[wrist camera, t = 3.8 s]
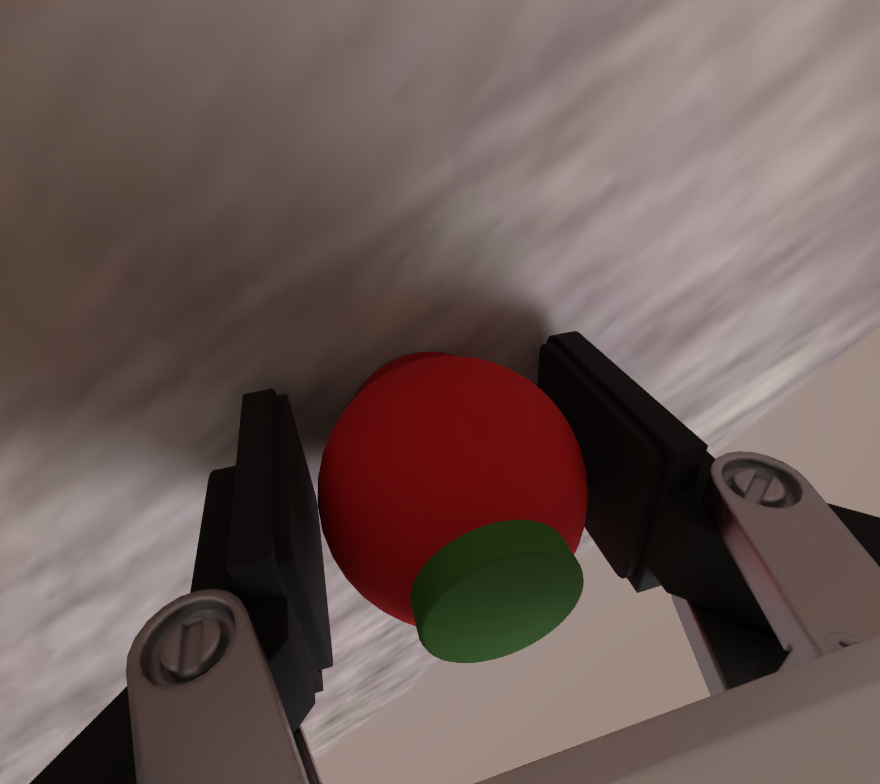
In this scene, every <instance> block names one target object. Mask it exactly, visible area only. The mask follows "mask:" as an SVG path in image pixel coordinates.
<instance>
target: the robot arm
mask: <svg viewBox="0 0 880 784" xmlns="http://www.w3.org/2000/svg"><path fill="white" fill-rule="evenodd" d="M537 387H538V388H540V389H541V390H542V391H543V392H544V393H545V394H546V395H547V396H548V397H549V398H550V399H551V400H552V401H553V402H554V403H555V405H556V406H557V407H558V408H559V410H560V411H561V412H562V414H563V415H564V417H565V418H566V420H567V421H568V423H569V425H570V427H571V429H572V431H573V432H574V435H575V437H576V439H577V441H578V444H579V446H580V449H581V453H582V456H583V460H584V464H585V468H586V475H587V487H588V502H587V513H586V521H585V525H584V527H585V528H586V530H587V531H588V533H589V534H590V536H591V537H592V539H593V540H594V542H595V543H596V545H597V546H598V548H599V549H600V551H601V552H602V554H603V555H604V557H605V558H606V560H607V561H608V562H609V564H610V565H611V567H612V568H613V570H614V571H615V572H616V574H617V575H618V576H619V577H621V578H626V577H627V578H628V580H629V581H630V583H631V584H632V586H633V587H634V589H635V590H636V592H637V593H638V592H641V591H645V590H648V589H651V588H654V587H658V586H661V585H662V587H663V588H664V589H665V590H666V592H667V593H670V594H671V595H672V599H673V603H674V605H675V608H676V610H677V613H678V615H679V618H680V620H681V623H682V625H683V628H684V630H685V632H686V635H687V637H688V640H689V642H690V645H691V647H692V650H693V653H694V655H695V658H696V660H697V662H698V665H699V668H700V670H701V673H702V675H703V677H704V680H705V683H706V685H707V688H708V690H709V693H710V695H711V696H710V697H707V698H705V699H702V700H699V701H696V702H694V703H691V704H688V705H685V706H683V707H680V708H677V709H675V710H672V711H670V712H666V713H664V714H661V715H658V716H656V717H653V718H650V719H647V720H645V721H642V722H640V723H637V724H634V725H631V726H629V727H626V728H623V729H621V730H618V731H615V732H612V733H610V734H607V735H604V736H601V737H599V738H596V739H593V740H590V741H588V742H585V743H582V744H580V745H577V746H574V747H572V748H569V749H566V750H563V751H561V752H558V753H555V754H553V755H550V756H547V757H544V758H542V759H539V760H536V761H534V762H531V763H528V764H526V765H523V766H520V767H518V768H515V769H512V770H510V771H507V772H504V773H502V774H499V775H496V776H494V777H491V778H488V779H486V780H483V781H480V782H478V783H475V784H880V518H879V517H875V516H872V515H868V514H865V513H861V512H857V511H854V510H850V509H846V508H842V507H839V506H835V505H832V504H828V503H826V502H825V501H824V500H823V498H822V497H821V496H820V495H819V494H818V492H817V491H816V490H815V489H814V488H813V486H812V485H811V484H810V483H809V482H808V480H807V479H806V478H805V477H803V476H802V475H801V474H800V473H799V472H798V471H797V470H795V469H794V468H792V467H791V466H789V465H787V464H786V463H784V462H782V461H779V460H777V459H775V458H772V457H769V456H766V455H762V454H758V453H754V452H740V451H739V452H731V453H726V454H724V455H722V456H720V457H718V458H717V459H715V458H714V457H713V456H711V455H710V454H709V453H708V452H707V451H706V450H707V447H708V445H707V444H706V443H704V442H703V441H702V440H701V439H700V438H699V437H698V436H696V435H695V434H694V433H693V432H692V431H691V430H690V429H688V428H687V427H686V426H685V425H684V424H683V423H682V422H680V421H679V420H678V419H677V418H676V417H675V416H674V415H672V414H671V413H670V412H669V411H668V410H667V409H666V408H664V407H663V406H662V405H661V404H660V403H659V402H658V401H656V400H655V399H654V398H653V397H652V396H651V395H650V394H648V393H647V392H646V391H645V390H644V389H643V388H642V387H640V386H639V385H638V384H637V383H636V382H635V381H634V380H632V379H631V378H630V377H629V376H628V375H627V374H626V373H624V372H623V371H622V370H621V369H620V368H619V367H618V366H616V365H615V364H614V363H613V362H612V361H611V360H610V359H608V358H607V357H606V356H605V355H604V354H603V353H602V352H600V351H599V350H598V349H597V348H596V347H595V346H594V345H592V344H591V343H590V342H589V341H588V340H587V339H586V338H584V337H583V336H582V335H581V334H580V333H578V332H577V331H573V332H567V333H562V334H557V335H552V336H550V337H548V339H547V342H546V344H542V345H541V347H540V351H539V366H538V381H537ZM332 666H333V657H332V646H331V636H330V626H329V616H328V605H327V595H326V585H325V575H324V565H323V555H322V544H321V534H320V524H319V514H318V506H317V500H316V495H315V491H314V488H313V484H312V481H311V477H310V474H309V470H308V466H307V463H306V459H305V456H304V452H303V448H302V445H301V441H300V438H299V434H298V431H297V427H296V423H295V420H294V416H293V413H292V409H291V406H290V402H289V399H288V396H287V394H281V395H276V392H275V390H274V389H268V390H262V391H257V392H252V393H247V394H243V398H242V408H241V419H240V429H239V439H238V450H237V460H236V466H231V467H226V468H222V469H217V470H213V471H212V472H211V473H210V476H209V479H208V485H207V492H206V498H205V504H204V510H203V517H202V523H201V529H200V535H199V542H198V548H197V554H196V560H195V567H194V573H193V579H192V585H191V592H190V593H189V594H186V595H184V596H181V597H179V598H177V599H176V600H174V601H172V602H171V603H169V604H167V605H166V606H164V607H163V608H161V609H160V610H159V611H158V612H157V613H156V614H155V615H154V616H153V617H152V618H150V619H149V620H148V621H147V622H146V624H145V625H144V626H143V628H142V629H141V630H140V632H139V633H138V635H137V636H136V637H135V639H134V641H133V644H132V646H131V649H130V651H129V653H128V656H127V666H126V679H127V687H126V688H125V689H124V690H123V691H122V692H121V693H120V694H119V695H118V696H117V697H116V698H115V699H114V700H113V701H112V702H111V703H110V704H109V705H108V706H107V707H106V708H105V709H104V710H103V711H102V712H101V713H100V714H99V715H98V716H97V717H96V718H95V719H94V720H93V721H92V722H91V723H90V724H89V725H88V726H87V727H86V728H85V729H84V730H83V731H82V732H81V733H80V734H79V735H78V736H77V737H76V738H75V739H74V740H73V741H72V742H71V743H70V744H69V745H68V746H67V747H66V748H65V749H64V750H63V751H62V752H61V753H60V754H59V755H58V756H57V757H56V758H55V759H54V760H53V761H52V762H51V763H50V764H49V765H48V766H47V767H46V768H45V769H44V770H43V771H42V772H41V773H40V774H39V775H38V776H37V777H36V778H35V779H34V780H33V781H32V782H31V783H30V784H322V782H321V779H320V776H319V773H318V770H317V768H316V765H315V762H314V759H313V757H312V754H311V751H310V748H309V746H308V743H307V740H306V737H305V735H304V732H303V729H302V726H301V723H302V721H303V720H304V719H305V717H306V716H307V714H308V713H309V711H310V710H311V709H312V707H313V706H314V704H315V693H317V692H320V691H323V680H322V669H325V668H329V667H332Z"/></svg>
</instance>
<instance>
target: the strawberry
mask: <svg viewBox="0 0 880 784" xmlns="http://www.w3.org/2000/svg"><path fill="white" fill-rule="evenodd" d="M587 502H588V487H587V475H586V468H585V464H584V460H583V456H582V453H581V449H580V446H579V444H578V441H577V439H576V437H575V435H574V432H573V431H572V429H571V427H570V425H569V423H568V421H567V420H566V418H565V417H564V415H563V414H562V412H561V411H560V410H559V408H558V407H557V406H556V405H555V403H554V402H553V401H552V400H551V399H550V398H549V397H548V396H547V395H546V394H545V393H544V392H543V391H542V390H541V389H540V388H538V387H537V386H536V385H535V384H534V383H532V382H531V381H529V380H528V379H526V378H525V377H523V376H522V375H520V374H518V373H517V372H515V371H513V370H511V369H509V368H506V367H504V366H501V365H499V364H496V363H494V362H491V361H487V360H483V359H479V358H473V357H464V356H454V355H450V354H446V353H442V352H418V353H413V354H409V355H405V356H402V357H399V358H397V359H395V360H393V361H391V362H389V363H387V364H385V365H384V366H382V367H381V368H379V369H378V370H377V371H376V372H375V373H373V374H372V375H371V376H370V377H369V378H368V379H367V380H366V382H365V383H364V384H363V386H362V387H361V388H360V390H359V392H358V394H357V396H356V397H355V399H354V400H353V401H352V402H351V403H350V404H349V405H348V407H347V408H346V409H345V411H344V412H343V413H342V415H341V416H340V418H339V419H338V421H337V423H336V424H335V426H334V428H333V430H332V432H331V434H330V436H329V439H328V441H327V444H326V447H325V449H324V452H323V456H322V461H321V466H320V471H319V477H318V509H319V514H320V520H321V525H322V530H323V534H324V536H325V539H326V541H327V544H328V546H329V549H330V551H331V554H332V556H333V558H334V560H335V561H336V563H337V564H338V566H339V568H340V569H341V571H342V572H343V574H344V575H345V577H346V579H347V580H348V581H349V582H350V583H351V584H352V585H353V586H354V587H355V588H356V590H357V591H358V592H359V593H360V594H361V595H362V596H363V597H364V598H366V599H367V600H368V601H370V602H371V603H372V604H374V605H375V606H376V607H378V608H379V609H380V610H382V611H383V612H385V613H387V614H389V615H391V616H393V617H395V618H397V619H399V620H401V621H403V622H405V623H408V624H411V625H414V626H416V628H417V632H418V635H419V639H420V641H421V643H422V645H423V646H424V647H425V648H426V649H427V651H428V652H429V653H431V654H432V655H434V656H435V657H437V658H439V659H442V660H445V661H449V662H456V663H475V662H482V661H487V660H492V659H496V658H499V657H503V656H506V655H509V654H512V653H514V652H516V651H519V650H521V649H523V648H525V647H527V646H529V645H531V644H533V643H535V642H536V641H538V640H540V639H541V638H543V637H544V636H546V635H547V634H548V633H550V632H551V631H552V630H554V629H555V628H556V627H557V626H558V625H559V624H560V623H561V622H563V621H564V619H565V618H566V617H567V616H568V615H569V614H570V613H571V611H572V610H573V608H574V607H575V606H576V604H577V602H578V600H579V598H580V596H581V593H582V589H583V573H582V569H581V566H580V564H579V563H578V561H577V559H576V558H575V556H574V554H575V552H576V550H577V547H578V545H579V542H580V539H581V536H582V532H583V529H584V525H585V521H586V513H587Z"/></svg>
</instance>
